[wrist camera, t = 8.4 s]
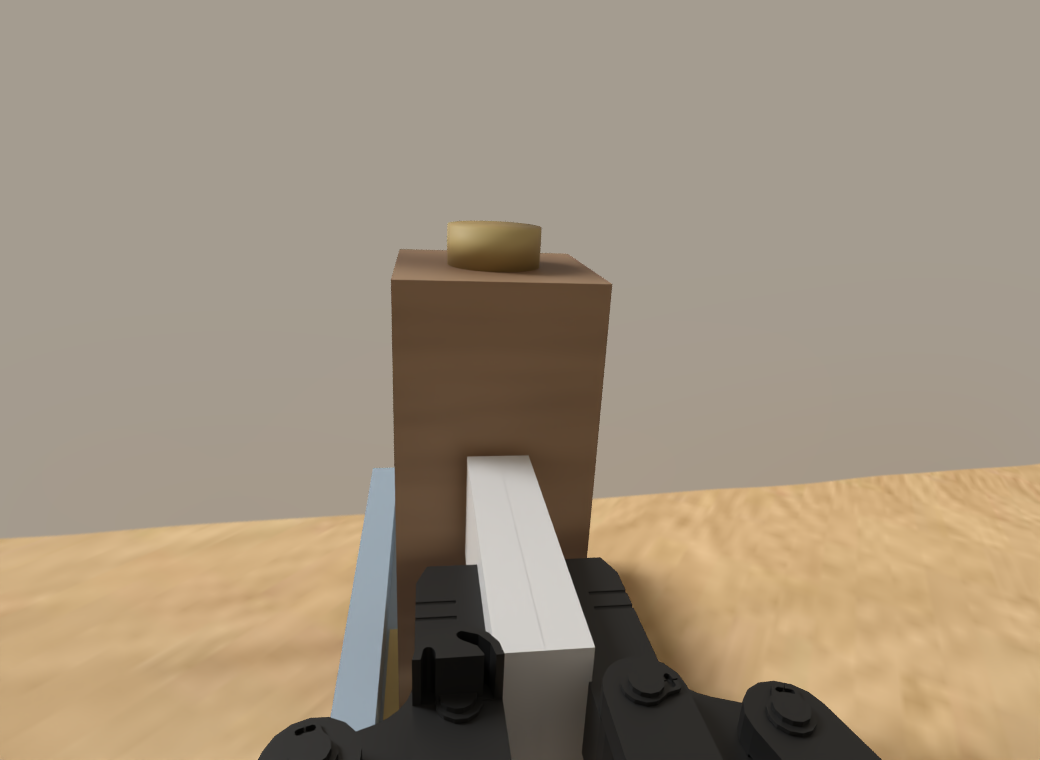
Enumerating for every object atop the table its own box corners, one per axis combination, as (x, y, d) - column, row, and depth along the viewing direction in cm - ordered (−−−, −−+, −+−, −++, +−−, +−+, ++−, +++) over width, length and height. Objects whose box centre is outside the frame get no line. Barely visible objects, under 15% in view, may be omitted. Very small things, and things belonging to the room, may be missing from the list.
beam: (828, 1528, 10) (915, 1367, 8) (221, 1700, 9) (169, 1552, 7) (543, 559, 34) (550, 464, 33) (372, 566, 33) (368, 468, 31)
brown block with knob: (571, 721, 19) (615, 240, 14) (399, 735, 18) (390, 233, 14) (542, 610, 24) (569, 220, 19) (404, 617, 23) (399, 213, 18)
